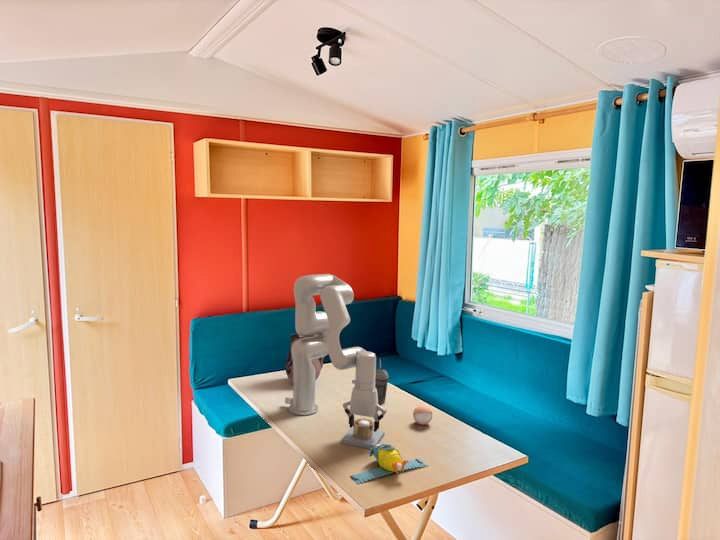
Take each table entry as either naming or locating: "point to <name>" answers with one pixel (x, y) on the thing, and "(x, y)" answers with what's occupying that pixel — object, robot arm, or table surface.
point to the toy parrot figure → (386, 463)
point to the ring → (363, 430)
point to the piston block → (367, 443)
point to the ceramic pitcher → (316, 362)
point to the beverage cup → (381, 384)
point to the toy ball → (422, 414)
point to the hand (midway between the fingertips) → (363, 428)
